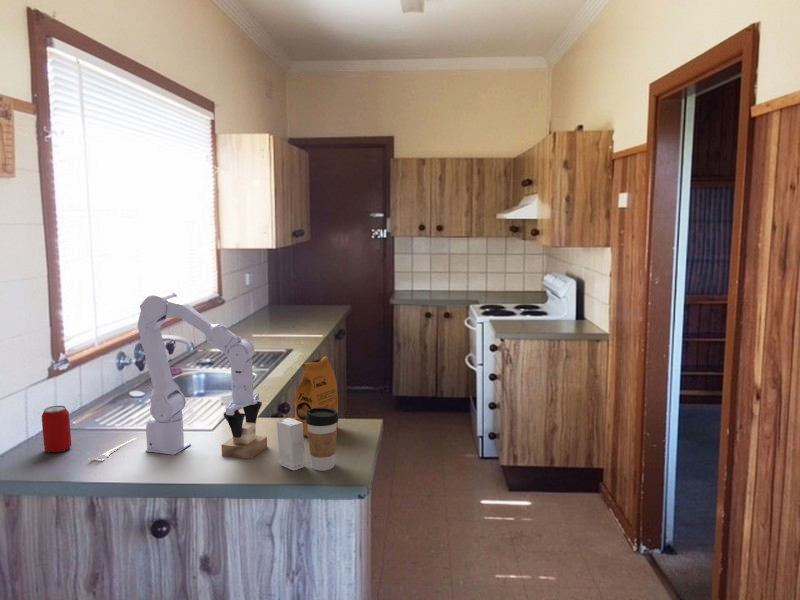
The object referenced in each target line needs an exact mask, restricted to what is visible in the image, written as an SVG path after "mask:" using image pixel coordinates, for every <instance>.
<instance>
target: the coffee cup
mask: <svg viewBox="0 0 800 600" xmlns="http://www.w3.org/2000/svg"><path fill="white" fill-rule="evenodd" d="M306 412H307V413H306V423H307V424H308V429H307V431H308V437H307V438H308V446H309V448H308V449H309V455H310V462H311V468H312V469H313V470H314V471H320V472H321V471H325V472H326V471H329V470H331V469H333V468H335V462H336V450H337V449H336V448H337V436H338V435H337V434H338V428H337V422H338V423H339V415H337V411H336V410H334V409H329V408H311V409H309V410H307V411H306Z"/></svg>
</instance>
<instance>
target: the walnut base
mask: <svg viewBox="0 0 800 600" xmlns="http://www.w3.org/2000/svg"><path fill="white" fill-rule="evenodd" d="M266 448H268V437H267V436H263V435H256V439H255V440H253V441H252V442H251V443H249V444H240V443H233V437H230V439H228V440H227V441H225V442H223V443H222V444H221V456H224V457H234V458H240V457H242V458H243V459H249V458H251V460H252V459H253V458H255V457H256V456H257V455H258V453H259V452H260V453H261V452H262V451H264V450H265V449H266ZM260 453H259V454H260ZM254 456H255V457H254Z"/></svg>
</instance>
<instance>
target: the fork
mask: <svg viewBox="0 0 800 600" xmlns="http://www.w3.org/2000/svg"><path fill="white" fill-rule="evenodd" d="M137 439H138V437H134V438H132V439H130V440H128V441H126V442H124V443H122V444H119V445H118V446H115V447H114V448H111V449H109V450H108V451H106V452H104V453H102V454H101V455H105V456H109V455H110V456H111V454H113V453H115V452H116V450H117V449H119V448H120V447H122V446H123V445H125V444H127V443H129V442H130V443H132V442H133V440H134V441H135V440H137ZM131 441H132V442H131ZM130 443H129V444H130ZM127 445H128V444H127ZM125 446H126V445H125ZM122 448H123V447H122ZM119 450H120V449H119ZM114 451H115V452H114ZM117 451H118V450H117ZM87 460H89V461H99V462H101V461H102V462H104V461H105V460H104V459H102V460H101V459H96V458H87ZM103 460H104V461H103Z"/></svg>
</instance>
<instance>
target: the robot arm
mask: <svg viewBox="0 0 800 600" xmlns="http://www.w3.org/2000/svg"><path fill="white" fill-rule="evenodd" d="M139 308H140V313H139V317H138V321H137V329H138V330H137V331H138V333H139V334H138V335H139V338H140V340H141V345H142V349H143V352H144V353H143V354H144V357H145V361H146V365H147V368H148V373H149V376H150V377H149V378H150V379H151V380H150V381H151V385H152V390H151V394H150V397H149V398H150V407H149V412H150V415H151V417H150V418H149V419H148V420H147V423H146V428H145V434H146V449H145V452H149V453H156V454H157V453H158V454H166V455H172V456H174V455H176V454H178V453H179V452H182V451H183V450H184V449H186V448H187V447H190V446H191V444H192V443H191V442H185V436H184V417H183V416H184V415H183V409H184V408H185V407H186V402H187V401H186V397H185V395H184V394H183V393H182V391H181V390H180V386H179V385H178V384H177V383H176V382H175V381H174V379H173V375H172V371H171V367H170V364H169V359H168V355H167V351H166V347H165V344H164V339H163V336H162V332H161V331H162V330H161V326H162V325H163V323H164V322H165V321H166V320H167V319H181V321H182V320H183V321H184V322H186V323H187V324H188V325H191V326H192V327H193V328H195V329H197V330H198V331H200V332H201V333H203V334H204V335H205V336H204V337H205V340H206V341H207V342H208V343H209V344H211V345H212V346H213V347H215V348H216V349H217V350H219V351H220V352H222V353H223V354H225V355H226V358H227V360H228V361H229V363H230V378H231V379H230V381H231V401H230V403H229V404H228V406H227V407H225V411H224V412H223V417H224V419H225V420H226V422H227V423H228V425H229V429H230V431H231V434H232V438H233V437H236V438H240V437H241V435H242V424H243V422H244V419H245V422H249V423H255V426H256V424H257V420H258V419H257V418H258V414H259V411H260V409H261V408H262V405H263V402H262V401H260V394H259V392H254V374H253V373H254V371H253V359H252V357H253V356H254V354H255V346H254V344H253V343H252V342H251V341H250V340H249V339H247V338H242V336H240V335H236V334H235V333H234V332H232V331H230V330H229V329H228V326H227V325H226V324H225V323H224V324H220V323H215V324H214V323H212V322H211V321H210V320H208V319H207V318H206V317H205V316H204V315H202V314H201V313H200V312H199V311H198V310H196V309H195V308H194V307H193V306H191V305H190V304H188V303H187V301H186V300H185V299H184V298H183V297H181V296H179V295H178V294H176V293H175V292H173V291H171V290H164V291H162V292H159V293H157V294H151V295H149V296H147V297H146V298H145V299H144V300H143V301H142V302H141V303H140V305H139ZM241 409H242V410H243V413H242V412H241V411H240V410H241Z"/></svg>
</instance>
